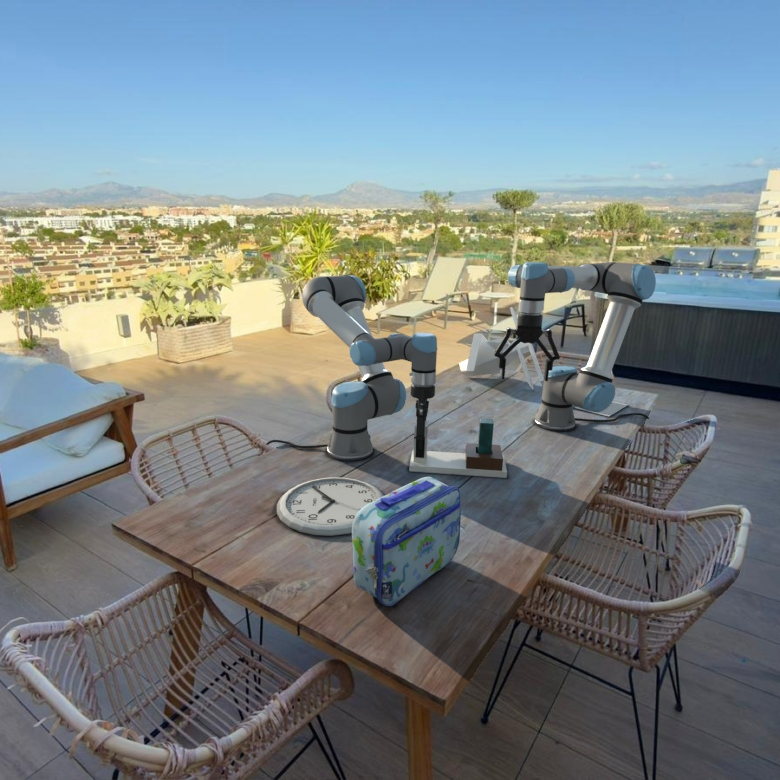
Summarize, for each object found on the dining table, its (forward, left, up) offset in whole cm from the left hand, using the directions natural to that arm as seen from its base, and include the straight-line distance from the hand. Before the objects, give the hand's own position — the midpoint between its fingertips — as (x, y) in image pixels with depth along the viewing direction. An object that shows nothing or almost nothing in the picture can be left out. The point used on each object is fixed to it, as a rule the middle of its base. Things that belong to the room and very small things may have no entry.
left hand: (420, 452), depth 168 cm
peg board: (+11, +5, -4) cm, 13 cm away
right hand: (+24, +24, +23) cm, 41 cm away
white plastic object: (-10, +102, -4) cm, 102 cm away
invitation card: (+40, +93, -4) cm, 101 cm away
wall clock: (-8, -36, -4) cm, 37 cm away
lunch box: (+25, -53, -4) cm, 58 cm away
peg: (+18, +8, -2) cm, 20 cm away
